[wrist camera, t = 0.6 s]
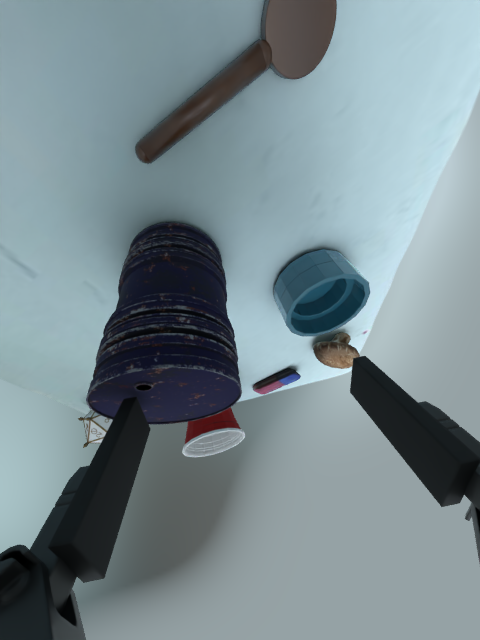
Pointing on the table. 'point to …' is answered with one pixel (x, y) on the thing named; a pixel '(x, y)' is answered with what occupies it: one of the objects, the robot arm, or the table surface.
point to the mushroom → (336, 352)
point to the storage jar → (168, 331)
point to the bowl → (320, 293)
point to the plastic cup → (212, 434)
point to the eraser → (276, 381)
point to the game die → (95, 427)
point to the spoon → (253, 67)
